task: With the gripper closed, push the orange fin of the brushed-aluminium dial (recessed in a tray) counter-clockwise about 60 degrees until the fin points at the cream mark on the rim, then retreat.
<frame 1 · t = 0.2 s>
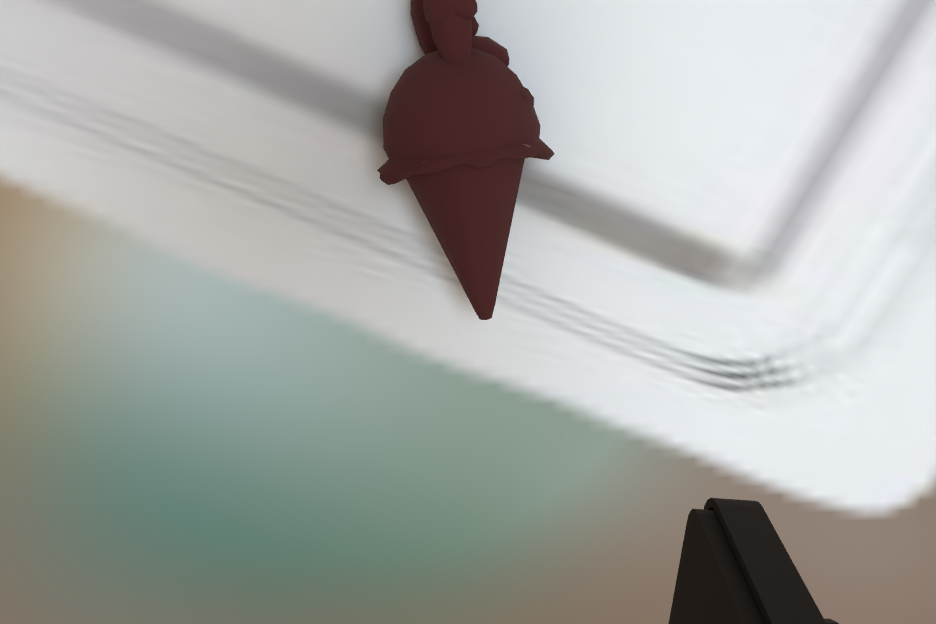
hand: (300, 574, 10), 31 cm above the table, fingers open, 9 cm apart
icecream: (465, 133, 39), on the table
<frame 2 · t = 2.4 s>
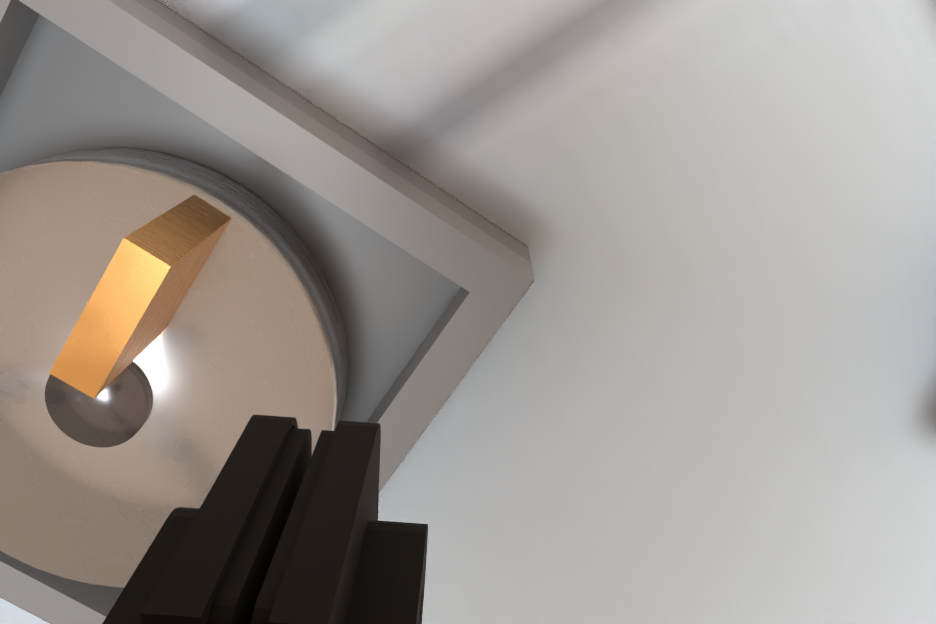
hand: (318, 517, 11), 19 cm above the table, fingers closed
dial: (89, 408, 25), point 6 cm above the table, hinge at 0.0°
tray: (164, 333, 31), on the table
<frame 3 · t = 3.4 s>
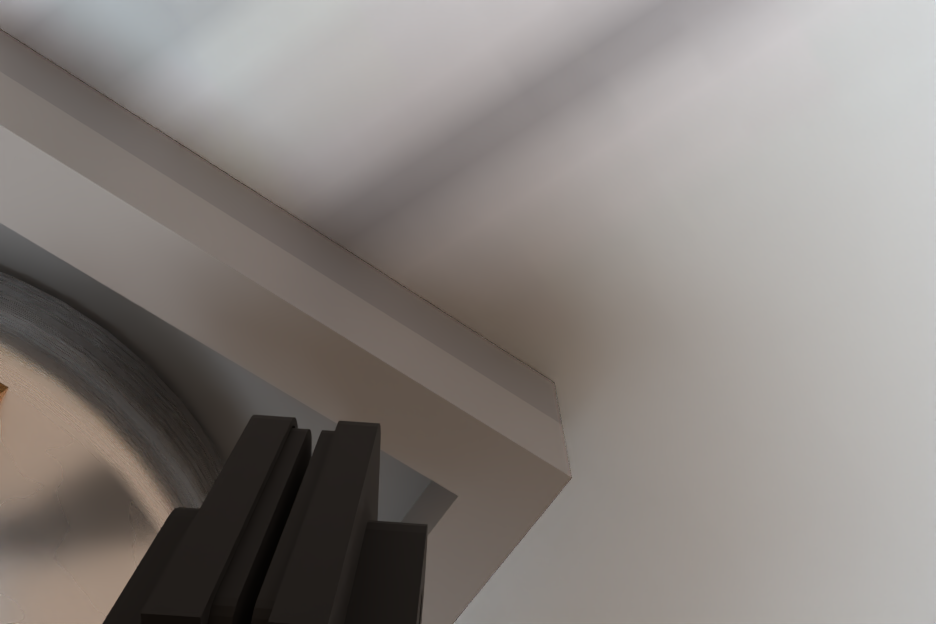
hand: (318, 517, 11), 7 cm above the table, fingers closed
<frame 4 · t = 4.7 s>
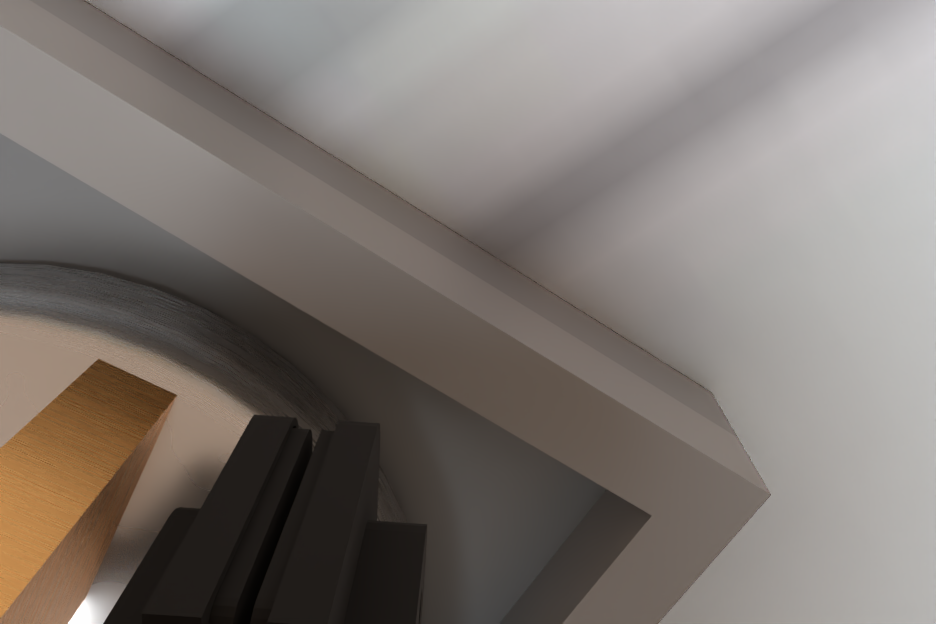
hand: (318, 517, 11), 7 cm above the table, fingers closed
tray: (119, 532, 19), on the table
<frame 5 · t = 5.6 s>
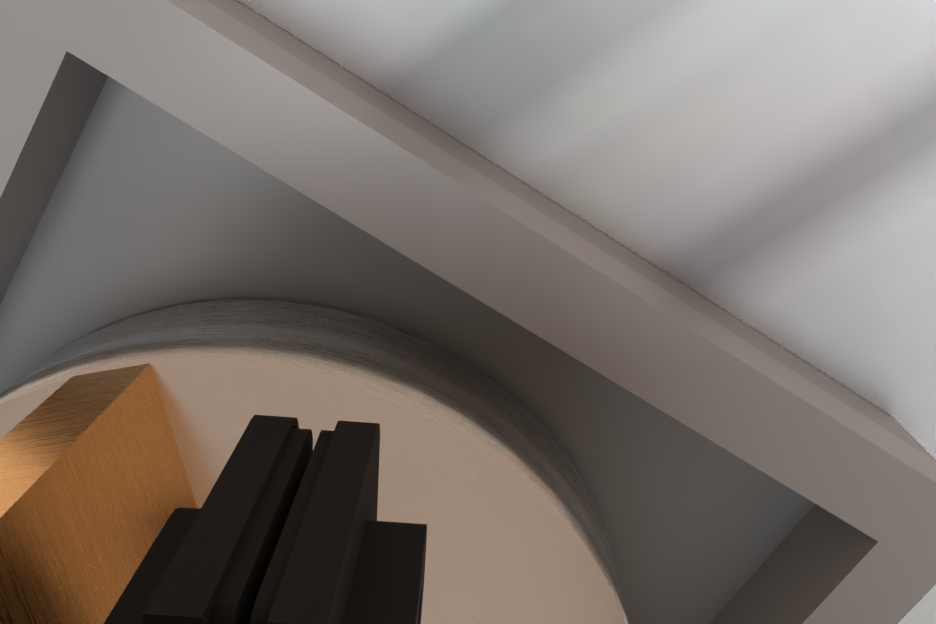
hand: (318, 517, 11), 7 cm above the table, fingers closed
tray: (300, 556, 20), on the table
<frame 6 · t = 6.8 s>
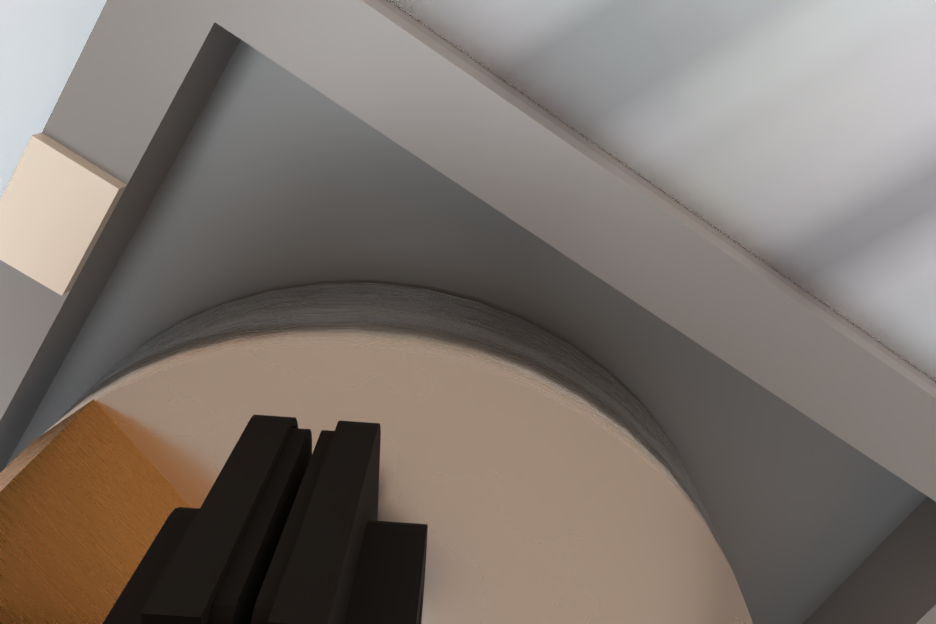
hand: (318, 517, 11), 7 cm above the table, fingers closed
tray: (382, 545, 20), on the table
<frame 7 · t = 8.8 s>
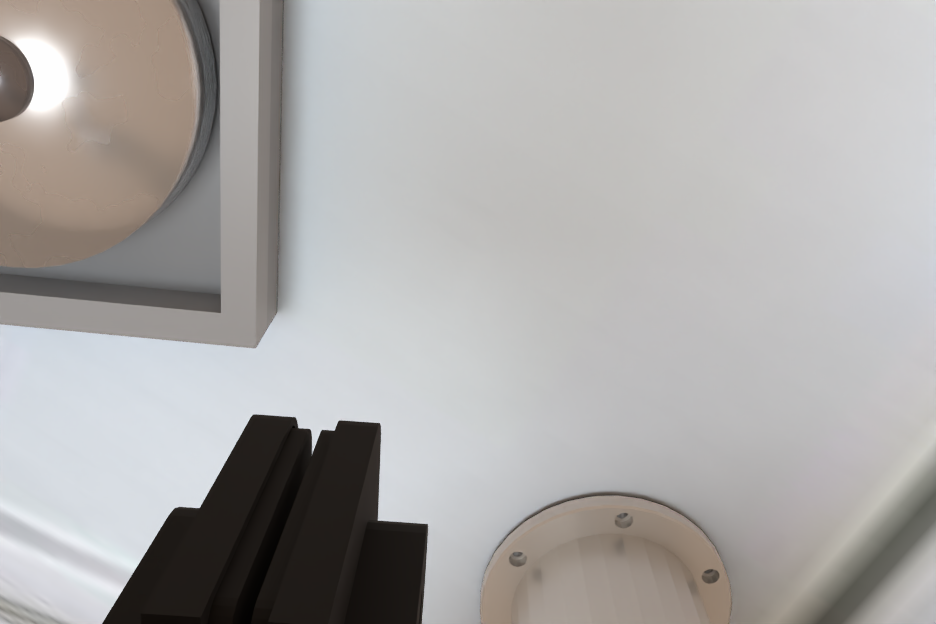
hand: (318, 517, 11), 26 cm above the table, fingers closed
tray: (59, 63, 35), on the table
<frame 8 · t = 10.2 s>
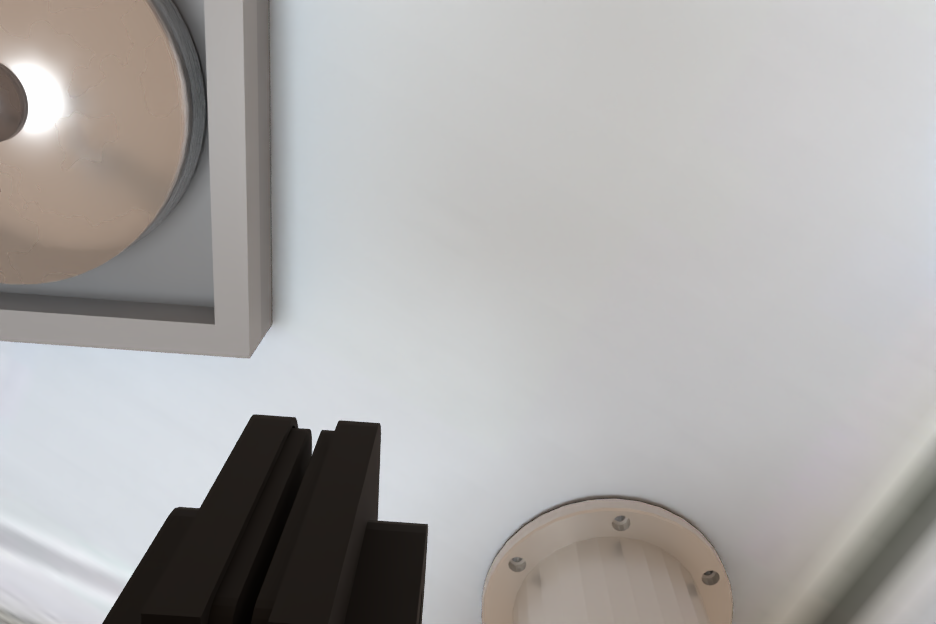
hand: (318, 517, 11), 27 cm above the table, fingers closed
tray: (55, 86, 36), on the table
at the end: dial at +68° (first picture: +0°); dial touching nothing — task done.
